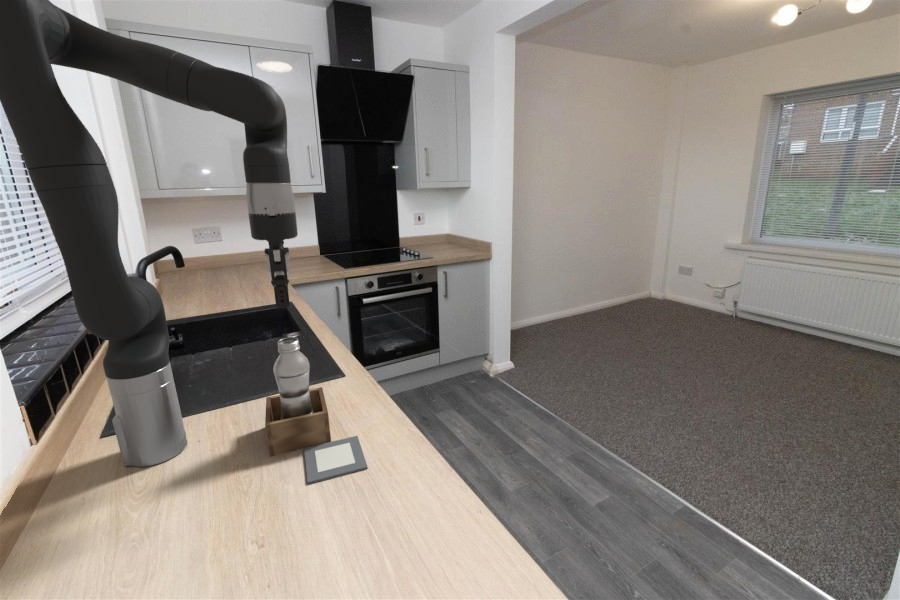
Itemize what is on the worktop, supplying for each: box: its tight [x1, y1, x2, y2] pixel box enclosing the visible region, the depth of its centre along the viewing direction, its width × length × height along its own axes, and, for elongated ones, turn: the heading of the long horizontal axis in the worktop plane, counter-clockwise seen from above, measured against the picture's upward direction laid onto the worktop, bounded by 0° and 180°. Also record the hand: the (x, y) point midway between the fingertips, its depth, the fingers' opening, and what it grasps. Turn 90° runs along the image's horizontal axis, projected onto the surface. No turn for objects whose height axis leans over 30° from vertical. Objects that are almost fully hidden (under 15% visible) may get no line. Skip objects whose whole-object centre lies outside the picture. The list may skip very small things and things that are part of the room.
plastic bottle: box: [272, 336, 314, 420], centre depth 80 cm, size 6×7×20 cm
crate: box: [264, 386, 332, 457], centre depth 82 cm, size 11×11×6 cm
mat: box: [303, 435, 369, 485], centre depth 75 cm, size 10×10×1 cm
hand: (282, 300), depth 75 cm, fingers open, 8 cm apart
